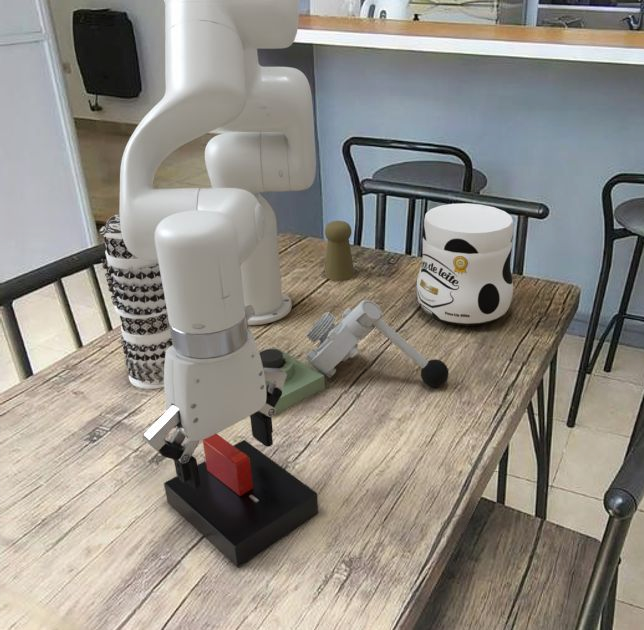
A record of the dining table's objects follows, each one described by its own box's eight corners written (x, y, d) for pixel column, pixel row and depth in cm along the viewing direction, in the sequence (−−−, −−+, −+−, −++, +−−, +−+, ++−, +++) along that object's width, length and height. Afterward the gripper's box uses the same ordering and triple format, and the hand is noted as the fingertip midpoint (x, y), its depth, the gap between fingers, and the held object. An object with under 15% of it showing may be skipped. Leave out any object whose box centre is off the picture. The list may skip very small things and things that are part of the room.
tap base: (165, 501, 80) (161, 480, 78) (244, 457, 87) (242, 437, 85) (237, 568, 71) (234, 546, 70) (318, 512, 78) (317, 491, 77)
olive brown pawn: (343, 266, 141) (342, 215, 136) (360, 275, 137) (359, 224, 132) (318, 273, 138) (316, 221, 133) (335, 283, 134) (333, 230, 129)
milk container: (402, 324, 119) (404, 227, 111) (432, 284, 134) (435, 196, 126) (499, 341, 115) (508, 241, 106) (518, 299, 129) (528, 208, 121)
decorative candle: (177, 392, 99) (150, 230, 88) (115, 388, 100) (79, 227, 88) (199, 359, 107) (176, 208, 96) (141, 356, 108) (112, 205, 96)
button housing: (221, 383, 102) (217, 360, 100) (275, 358, 108) (273, 336, 106) (270, 416, 95) (268, 392, 93) (325, 387, 101) (324, 365, 99)
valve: (382, 443, 105) (445, 396, 97) (284, 360, 101) (341, 303, 93) (401, 402, 113) (461, 355, 105) (311, 324, 110) (366, 269, 102)
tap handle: (206, 470, 80) (201, 438, 78) (220, 463, 81) (215, 431, 79) (240, 496, 76) (235, 463, 74) (253, 488, 77) (249, 455, 75)
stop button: (253, 365, 100) (252, 355, 99) (273, 356, 102) (272, 346, 101) (268, 374, 98) (267, 364, 97) (288, 365, 100) (287, 354, 99)
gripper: (257, 293, 78) (269, 413, 86) (110, 350, 66) (140, 483, 75) (299, 315, 73) (307, 440, 82) (150, 380, 62) (177, 518, 70)
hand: (228, 460), depth 78 cm, fingers open, 9 cm apart
